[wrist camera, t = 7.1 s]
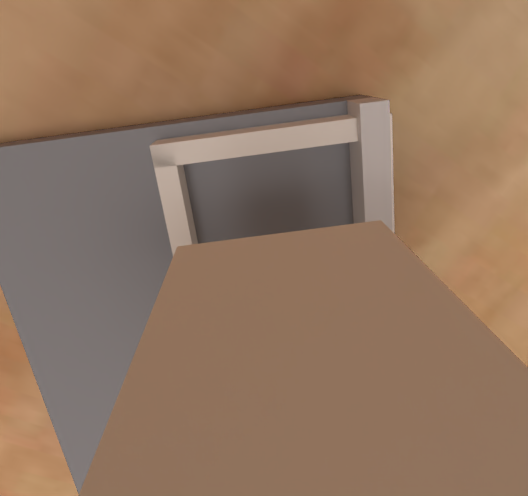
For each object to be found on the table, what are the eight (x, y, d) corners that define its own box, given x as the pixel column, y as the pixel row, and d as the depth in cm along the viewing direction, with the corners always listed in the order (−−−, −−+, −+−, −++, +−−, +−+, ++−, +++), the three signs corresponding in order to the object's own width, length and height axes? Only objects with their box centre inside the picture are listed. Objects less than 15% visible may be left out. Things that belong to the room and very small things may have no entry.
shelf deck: (-20, 145, 19) (-85, 163, 15) (364, 94, 19) (395, 98, 15) (114, 530, 27) (93, 603, 23) (381, 495, 27) (404, 562, 23)
